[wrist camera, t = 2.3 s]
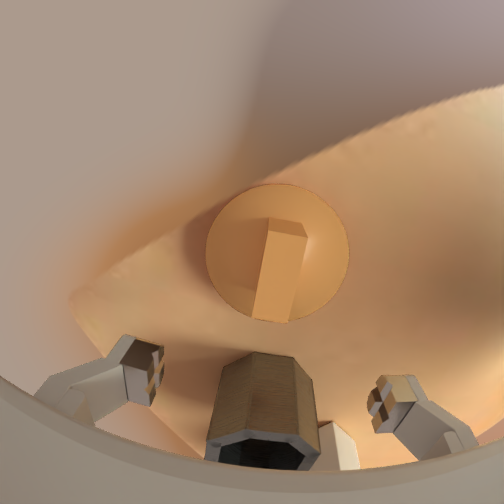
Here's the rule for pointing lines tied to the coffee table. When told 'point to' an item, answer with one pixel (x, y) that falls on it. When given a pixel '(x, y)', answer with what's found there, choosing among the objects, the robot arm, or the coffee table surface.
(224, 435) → the graphite tube
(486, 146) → the coffee table surface
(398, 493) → the robot arm
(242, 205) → the orange cap
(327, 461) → the milk carton
